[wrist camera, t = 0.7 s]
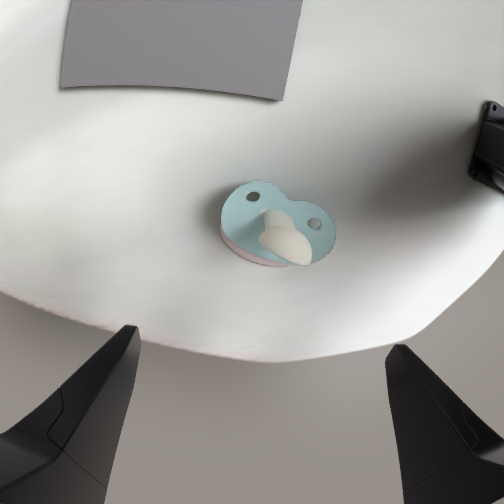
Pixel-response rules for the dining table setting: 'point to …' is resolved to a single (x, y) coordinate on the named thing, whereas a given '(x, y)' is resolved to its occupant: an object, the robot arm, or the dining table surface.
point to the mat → (182, 44)
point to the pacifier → (275, 227)
